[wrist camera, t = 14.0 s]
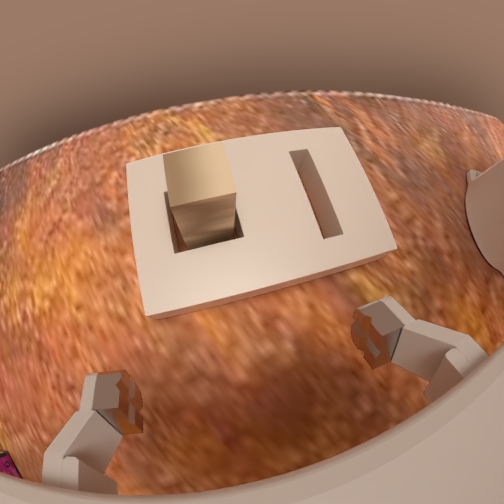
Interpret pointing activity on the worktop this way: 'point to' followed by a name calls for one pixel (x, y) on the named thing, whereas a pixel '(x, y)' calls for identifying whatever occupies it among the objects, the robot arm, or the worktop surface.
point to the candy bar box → (8, 465)
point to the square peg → (201, 194)
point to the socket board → (260, 222)
